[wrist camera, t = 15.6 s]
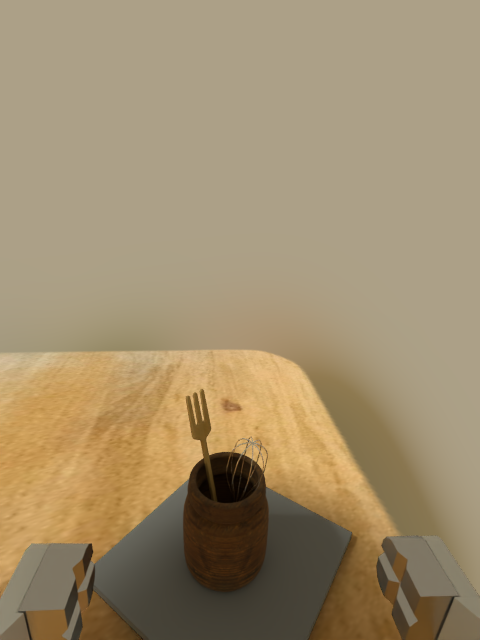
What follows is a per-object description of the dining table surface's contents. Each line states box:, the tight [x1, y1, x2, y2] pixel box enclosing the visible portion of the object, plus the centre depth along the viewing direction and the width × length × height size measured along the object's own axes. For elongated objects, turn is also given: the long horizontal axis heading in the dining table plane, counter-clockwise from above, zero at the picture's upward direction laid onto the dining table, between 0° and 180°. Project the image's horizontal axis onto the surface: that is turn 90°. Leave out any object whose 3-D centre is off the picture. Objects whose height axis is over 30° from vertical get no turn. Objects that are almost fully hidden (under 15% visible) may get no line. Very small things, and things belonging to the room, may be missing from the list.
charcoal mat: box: [93, 479, 352, 640], centre depth 26 cm, size 14×14×1 cm
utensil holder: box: [183, 389, 269, 592], centre depth 24 cm, size 6×6×12 cm
